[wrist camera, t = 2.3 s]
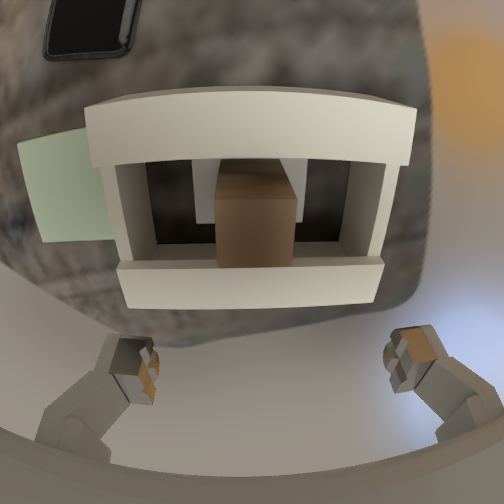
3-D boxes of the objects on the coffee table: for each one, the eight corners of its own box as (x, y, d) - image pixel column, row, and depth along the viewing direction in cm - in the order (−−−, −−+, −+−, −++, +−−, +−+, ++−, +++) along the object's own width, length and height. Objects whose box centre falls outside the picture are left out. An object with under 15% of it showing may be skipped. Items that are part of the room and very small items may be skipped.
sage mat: (45, 239, 25) (42, 242, 24) (20, 141, 19) (17, 143, 19) (134, 235, 25) (132, 238, 25) (116, 121, 20) (113, 123, 19)
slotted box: (148, 254, 27) (128, 308, 21) (126, 94, 19) (84, 107, 13) (346, 250, 27) (372, 302, 21) (369, 95, 20) (416, 108, 14)
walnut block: (222, 211, 22) (217, 268, 17) (220, 158, 20) (213, 200, 14) (276, 210, 23) (291, 266, 17) (279, 158, 20) (297, 199, 15)
